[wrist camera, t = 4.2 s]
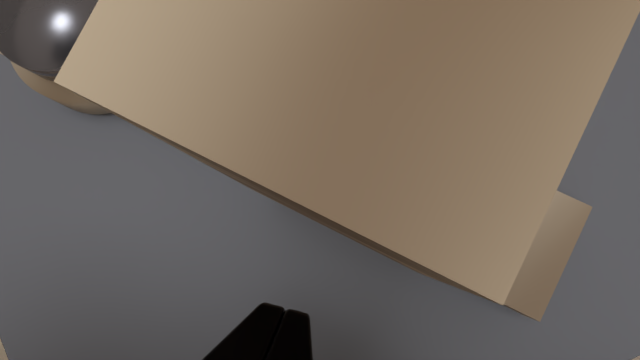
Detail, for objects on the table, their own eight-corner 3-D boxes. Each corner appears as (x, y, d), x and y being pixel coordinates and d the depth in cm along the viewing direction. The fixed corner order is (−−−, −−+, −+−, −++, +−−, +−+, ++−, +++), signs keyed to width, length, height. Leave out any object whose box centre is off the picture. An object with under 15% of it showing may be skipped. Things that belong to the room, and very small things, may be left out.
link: (15, 80, 17) (-562, -201, 6) (78, -35, 17) (-374, -479, 7) (514, 332, 14) (868, 525, 4) (578, 195, 15) (1054, 53, 4)
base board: (124, 589, 16) (104, 616, 15) (-92, 26, 19) (-122, 11, 18) (812, 253, 15) (848, 253, 14) (474, -270, 19) (481, -305, 17)
